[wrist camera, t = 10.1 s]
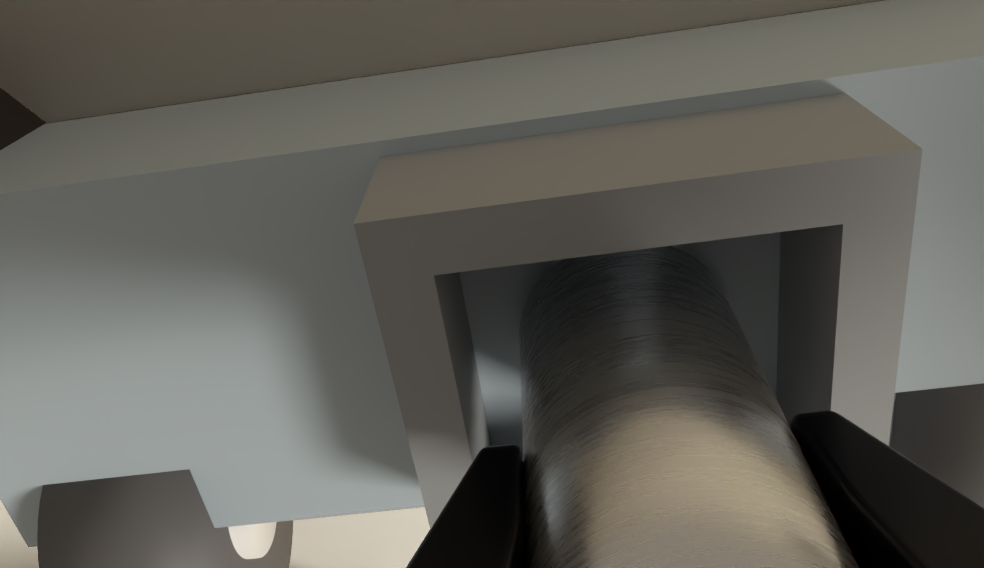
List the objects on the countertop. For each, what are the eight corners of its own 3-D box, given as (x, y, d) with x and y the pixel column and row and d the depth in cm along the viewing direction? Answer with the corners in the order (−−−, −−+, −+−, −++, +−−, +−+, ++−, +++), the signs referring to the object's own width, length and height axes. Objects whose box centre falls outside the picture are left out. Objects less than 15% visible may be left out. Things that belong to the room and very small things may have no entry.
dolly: (1002, -17, 12) (1331, 74, 7) (934, 443, 16) (1113, 693, 12) (-14, 132, 13) (-303, 292, 9) (168, 522, 18) (42, 775, 13)
